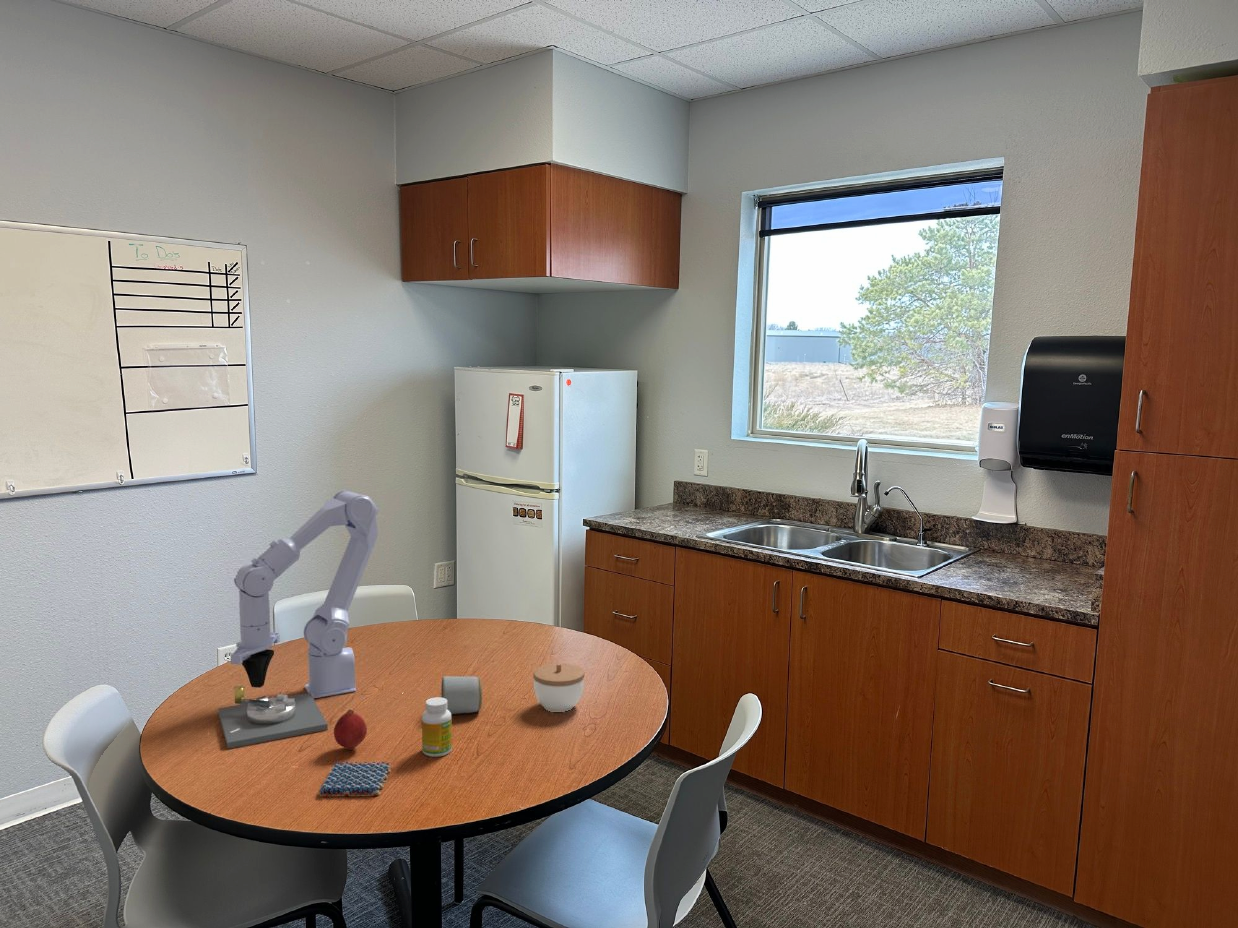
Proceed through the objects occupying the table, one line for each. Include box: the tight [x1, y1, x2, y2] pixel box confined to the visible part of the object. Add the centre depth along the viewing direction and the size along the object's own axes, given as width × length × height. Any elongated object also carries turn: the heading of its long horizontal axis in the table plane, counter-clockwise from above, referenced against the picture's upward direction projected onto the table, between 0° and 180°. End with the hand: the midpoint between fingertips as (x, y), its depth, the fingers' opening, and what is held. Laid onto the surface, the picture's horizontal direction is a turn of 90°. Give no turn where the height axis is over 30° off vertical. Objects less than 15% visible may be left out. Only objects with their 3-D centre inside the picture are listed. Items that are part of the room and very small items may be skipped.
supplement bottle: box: [421, 696, 453, 758], centre depth 162 cm, size 5×5×10 cm
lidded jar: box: [533, 662, 585, 713], centre depth 183 cm, size 11×11×9 cm
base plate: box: [217, 692, 329, 750], centre depth 174 cm, size 18×18×1 cm
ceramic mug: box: [440, 675, 483, 715], centre depth 182 cm, size 11×8×8 cm
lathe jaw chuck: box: [233, 685, 296, 725], centre depth 174 cm, size 12×9×5 cm
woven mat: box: [317, 761, 392, 798], centre depth 150 cm, size 10×11×2 cm
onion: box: [333, 708, 368, 751], centre depth 162 cm, size 6×6×8 cm
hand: (257, 686), depth 181 cm, fingers closed
